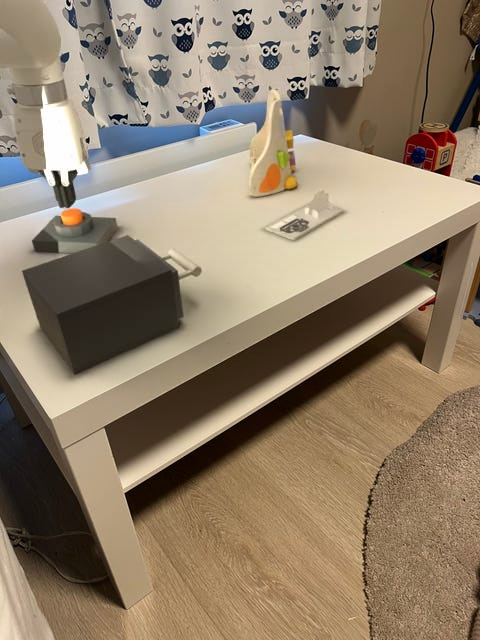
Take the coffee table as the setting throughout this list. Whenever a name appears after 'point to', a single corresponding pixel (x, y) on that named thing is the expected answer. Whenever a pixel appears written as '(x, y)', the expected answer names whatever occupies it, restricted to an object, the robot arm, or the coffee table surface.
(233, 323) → the coffee table surface
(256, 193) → the shape sorter
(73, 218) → the button
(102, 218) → the control block
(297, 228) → the white stand base
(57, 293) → the drawer box
